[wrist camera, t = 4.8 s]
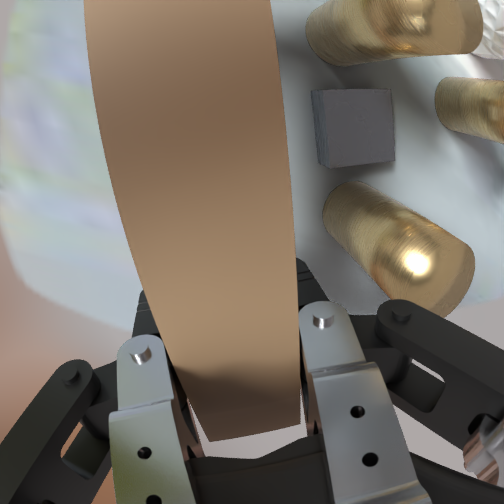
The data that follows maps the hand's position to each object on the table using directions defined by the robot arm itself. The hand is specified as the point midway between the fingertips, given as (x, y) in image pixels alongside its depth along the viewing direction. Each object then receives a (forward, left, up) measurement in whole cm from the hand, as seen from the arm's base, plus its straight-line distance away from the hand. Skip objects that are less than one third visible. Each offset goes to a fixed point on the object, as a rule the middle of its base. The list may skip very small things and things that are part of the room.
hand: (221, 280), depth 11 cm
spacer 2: (+1, +9, -7) cm, 11 cm away
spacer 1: (-10, +9, -7) cm, 15 cm away
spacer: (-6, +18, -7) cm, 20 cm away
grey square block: (-4, +9, -8) cm, 12 cm away
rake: (-6, 0, -1) cm, 6 cm away
